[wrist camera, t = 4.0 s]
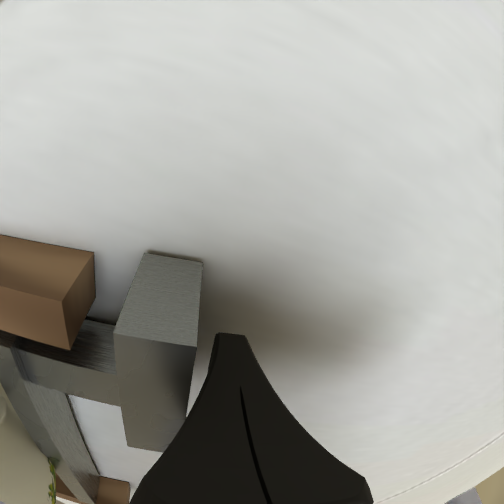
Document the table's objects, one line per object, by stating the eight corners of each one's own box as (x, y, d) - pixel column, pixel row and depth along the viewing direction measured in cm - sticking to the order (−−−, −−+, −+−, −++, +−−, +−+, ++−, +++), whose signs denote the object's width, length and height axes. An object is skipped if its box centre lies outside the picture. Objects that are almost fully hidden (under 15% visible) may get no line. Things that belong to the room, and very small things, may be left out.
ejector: (173, 490, 20) (172, 529, 17) (84, 473, 19) (77, 510, 15) (202, 262, 11) (196, 346, 7) (3, 227, 9) (-58, 283, 6)
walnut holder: (130, 488, 21) (128, 515, 18) (27, 458, 19) (20, 482, 16) (93, 252, 10) (61, 301, 8) (-81, 217, 8) (-117, 244, 6)
